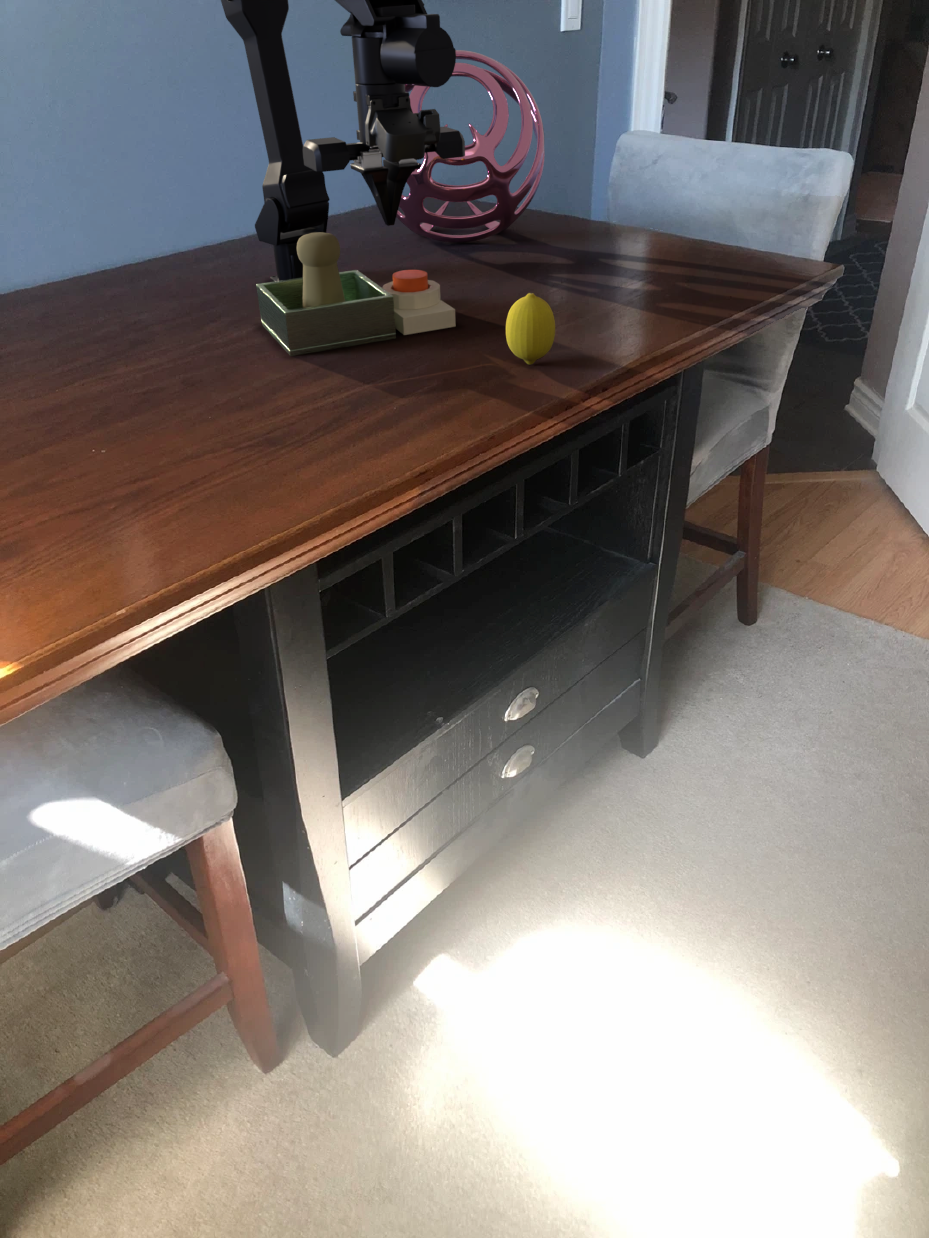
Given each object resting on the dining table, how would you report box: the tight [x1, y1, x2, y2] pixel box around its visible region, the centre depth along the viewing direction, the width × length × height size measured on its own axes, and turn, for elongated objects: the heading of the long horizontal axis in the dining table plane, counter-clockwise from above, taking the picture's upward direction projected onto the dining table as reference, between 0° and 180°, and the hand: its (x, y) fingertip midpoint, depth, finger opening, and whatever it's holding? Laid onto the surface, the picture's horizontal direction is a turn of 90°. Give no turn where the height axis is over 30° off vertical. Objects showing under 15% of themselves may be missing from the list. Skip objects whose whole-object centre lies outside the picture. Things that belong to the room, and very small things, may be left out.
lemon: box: [505, 292, 556, 365], centre depth 110 cm, size 6×6×8 cm
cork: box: [297, 232, 345, 308], centre depth 121 cm, size 6×6×11 cm
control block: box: [381, 279, 456, 336], centre depth 127 cm, size 12×7×4 cm, turn 24°
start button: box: [392, 269, 429, 292], centre depth 125 cm, size 4×4×2 cm
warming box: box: [255, 269, 397, 357], centre depth 123 cm, size 13×13×5 cm
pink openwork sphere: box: [396, 49, 546, 244], centre depth 157 cm, size 28×28×27 cm
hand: (389, 225), depth 122 cm, fingers closed
